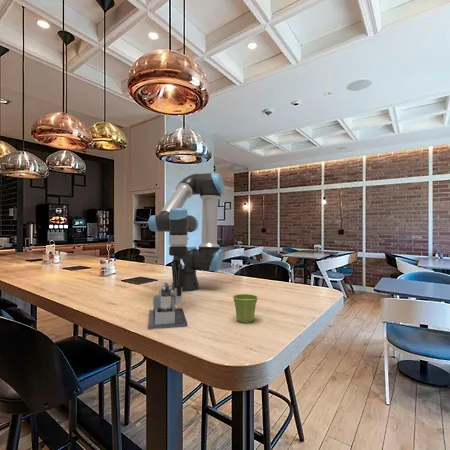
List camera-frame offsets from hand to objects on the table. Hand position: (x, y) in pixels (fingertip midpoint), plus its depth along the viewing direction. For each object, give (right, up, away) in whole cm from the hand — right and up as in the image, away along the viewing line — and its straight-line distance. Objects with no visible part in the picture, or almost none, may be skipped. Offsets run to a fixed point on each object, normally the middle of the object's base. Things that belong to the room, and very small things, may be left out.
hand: (178, 303), depth 114 cm
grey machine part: (-4, -2, -3) cm, 5 cm away
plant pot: (+27, -3, -11) cm, 29 cm away
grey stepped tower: (-2, -2, -16) cm, 16 cm away
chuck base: (-2, -3, -11) cm, 11 cm away
